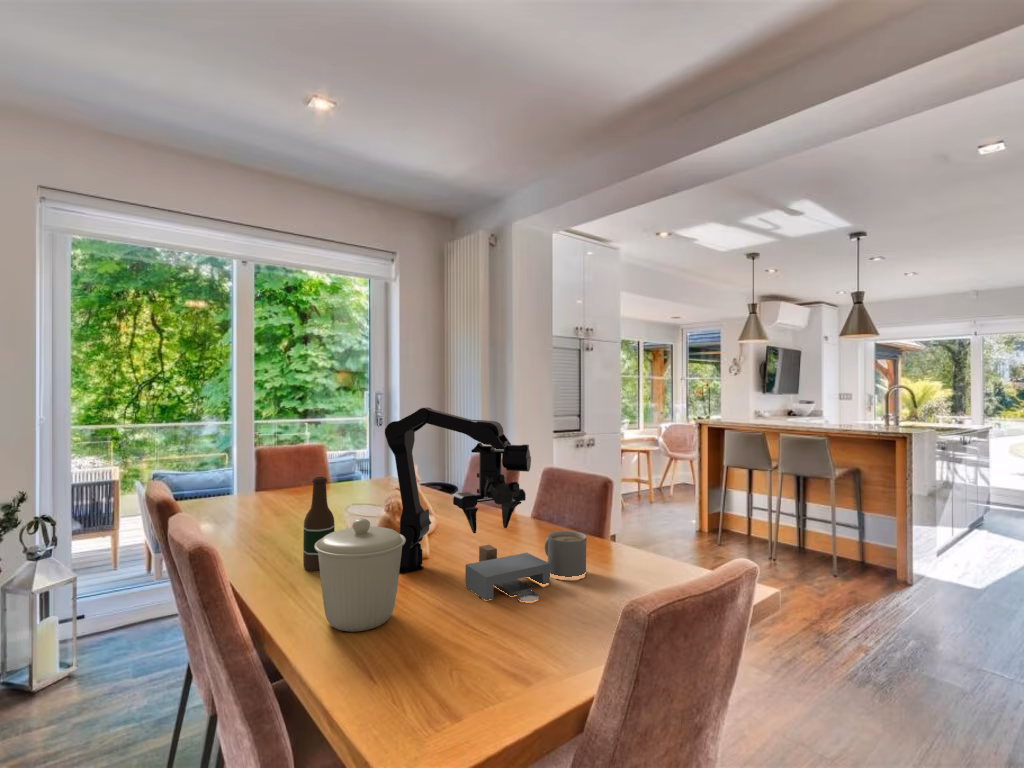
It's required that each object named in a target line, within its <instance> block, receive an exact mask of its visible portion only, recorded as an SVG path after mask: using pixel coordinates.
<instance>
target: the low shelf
mask: <svg viewBox="0 0 1024 768" xmlns="http://www.w3.org/2000/svg"><path fill="white" fill-rule="evenodd" d="M464 576H465V584H464V585H465V586H466V587H467V588H469V589H470V590H472V591H473V592H474V593H476V594H477V595H479V596H480V597H481V598H483V599H485V600H489V599H493V600H494V587H493V585H494V584H497V583H502V582H506V581H511V580H515V579H518V580H520V579H524V578H525V577H530V578H531V579H533V580H535V581H537V582H539V583H542V584H546V583H549V582H550V581H551V580H550V579H551V577H550V563H548V561H546V560H545V559H544V560H543V559H541V558H539V557H537V556H535V555H533V554H531V553H529V552H524V553H518V554H513V555H507V556H503V557H497V558H496V559H491V560H486V561H481V562H479V561H477V562H473V563H466V564H465V575H464ZM550 583H551V582H550ZM466 587H465V588H466ZM467 588H466V589H467ZM469 589H468V590H469ZM470 590H469V591H470ZM473 592H472V593H473ZM474 593H473V594H474ZM476 594H475V595H476ZM477 595H476V596H477ZM479 596H478V597H479ZM480 597H479V598H480ZM481 598H480V599H481ZM483 599H482V600H483Z"/></svg>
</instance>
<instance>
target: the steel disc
mask: <svg viewBox="0 0 1024 768" xmlns="http://www.w3.org/2000/svg"><path fill="white" fill-rule="evenodd" d="M517 598H518V599H519V600H521V601H534V600H537V599H538V598H539V599H540V595H539V593H537V592H535V591H533V590H532V591H523V592H519V593H518V594H517V597H516V599H517Z"/></svg>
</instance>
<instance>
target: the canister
mask: <svg viewBox="0 0 1024 768" xmlns="http://www.w3.org/2000/svg"><path fill="white" fill-rule="evenodd" d="M351 525H352V527H349V528H342V529H338V530H334V532H332V533H330V534H327V535H326V536H324V537H323V538H322V539H320V540H318V541H317V542H316V543H315V550H316V551H317V552H318V556H319V567H320V571H319V575H320V586H321V593H322V601H323V609H324V615H325V618H326V621H327V622H328V624H329V625H330V626H331V627H333V628H334V629H336V630H338V631H344V632H353V633H354V632H364V631H369V630H372V629H375V628H377V627H380V626H381V625H383V624H384V625H385V623H386V622H388V620H389V619H390V618H391V617H392V615H393V613H394V610H395V606H396V598H397V595H398V594H397V592H398V586H399V577H400V573H399V570H400V562H401V553H402V546H403V545H404V544H405V541H406V539H405V537H404V536H403V535H401V534H399V533H400V532H398V531H396V530H394V529H392V528H389V527H383V526H371V522H370V521H369V519H367V518H365V517H363V518H357V519H356V520H354V521H353V522H352V524H351Z"/></svg>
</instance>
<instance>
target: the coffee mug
mask: <svg viewBox="0 0 1024 768" xmlns="http://www.w3.org/2000/svg"><path fill="white" fill-rule="evenodd" d="M544 552H545V554H546V557H547V562H548V563H550V573H551V574H554V575H558V576H565V577H572V576H579V575H582V574H584V573H585V572H586V573H587V535H585V533H582V532H578V531H573V530H557V531H552V532H549V534H548V535H547V537H546V539H545V541H544Z"/></svg>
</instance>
